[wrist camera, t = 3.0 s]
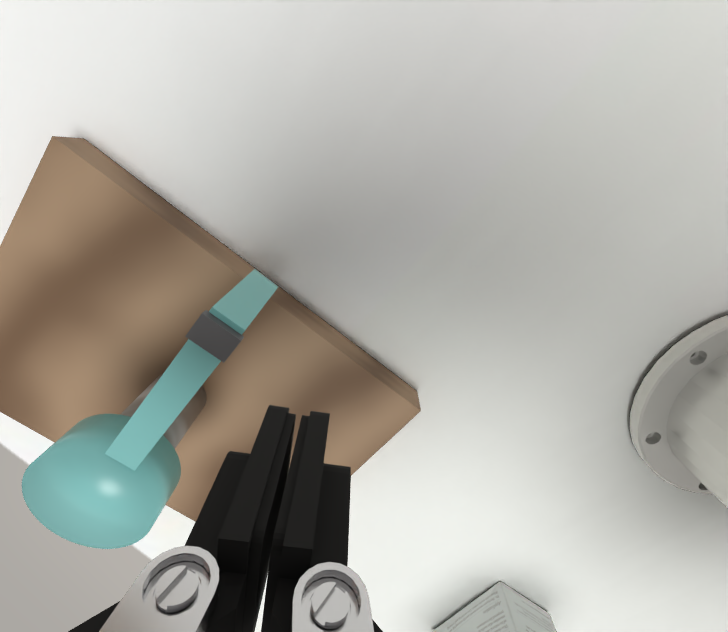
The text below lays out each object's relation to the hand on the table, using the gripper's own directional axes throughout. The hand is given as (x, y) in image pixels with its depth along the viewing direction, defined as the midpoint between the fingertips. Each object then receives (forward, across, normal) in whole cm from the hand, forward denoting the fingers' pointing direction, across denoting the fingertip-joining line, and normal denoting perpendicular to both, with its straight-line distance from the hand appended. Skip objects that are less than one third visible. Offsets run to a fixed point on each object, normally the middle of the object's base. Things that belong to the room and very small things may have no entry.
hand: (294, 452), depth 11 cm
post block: (+12, +7, +6) cm, 15 cm away
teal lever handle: (+7, +6, +3) cm, 10 cm away
